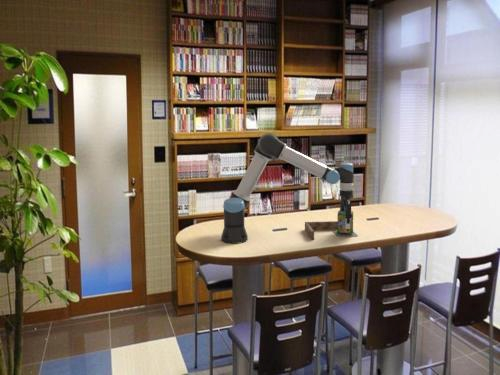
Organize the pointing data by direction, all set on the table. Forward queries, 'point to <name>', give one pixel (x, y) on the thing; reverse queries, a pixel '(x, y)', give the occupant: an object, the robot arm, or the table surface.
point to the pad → (345, 234)
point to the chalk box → (342, 222)
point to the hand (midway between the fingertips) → (345, 226)
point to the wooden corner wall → (319, 227)
